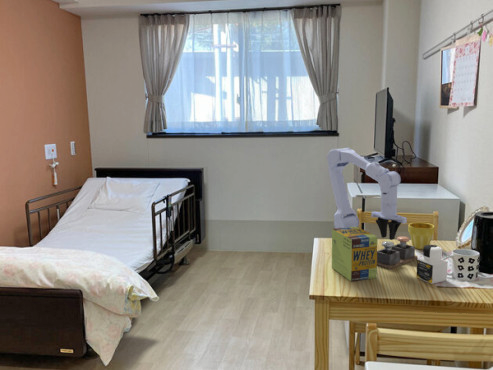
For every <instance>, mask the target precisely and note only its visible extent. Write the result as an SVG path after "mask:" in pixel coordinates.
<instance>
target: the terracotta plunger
mask: <svg viewBox="0 0 493 370" xmlns="http://www.w3.org/2000/svg"><path fill="white" fill-rule="evenodd" d="M396 239H397V241H398V242H399V243H400V248H403V249H405V248H406V244H407V243H408V242H410V237H408V236H405V235H403V236H398V237H397V238H396Z"/></svg>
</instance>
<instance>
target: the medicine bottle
mask: <svg viewBox="0 0 493 370" xmlns="http://www.w3.org/2000/svg"><path fill="white" fill-rule="evenodd" d="M416 278H417V279H419V280H422V281H424V282H426V283H429V284H431V285H434V284H438V283H441V282H446V281H447V280H448V261H447V260H445V259H443V247H441V246H439V245H436V244H430V245H426V246H424V247H423V249H422V257H419V258H418V257H417V259H416Z"/></svg>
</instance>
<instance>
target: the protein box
mask: <svg viewBox="0 0 493 370" xmlns="http://www.w3.org/2000/svg"><path fill="white" fill-rule="evenodd" d="M377 251H378V236H377V235H376V234H373V233H371V232H368V231H366V230H364V229H362V228H360V227H359V226H358V227H347V228H336V229H335V228H332V229H331V268H332V269H333V270H335V271H336V272H338V274H340V275H341V276H343V277H344V278H346V279H347V280H348V281H349V282H357V281H363V280H370V279H371V280H372V279H377V277H378V276H377V274H378V273H377V272H378V268H377V267H378V265H377Z"/></svg>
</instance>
